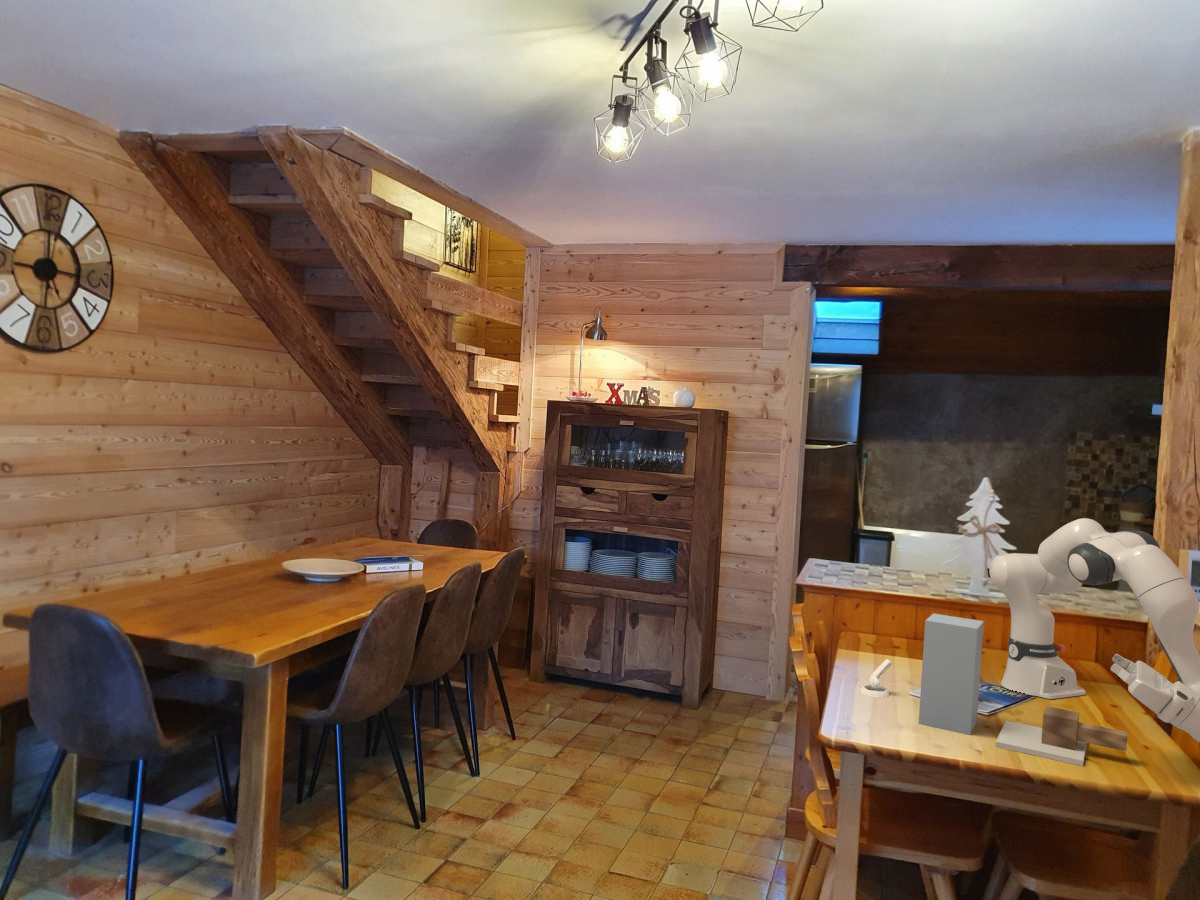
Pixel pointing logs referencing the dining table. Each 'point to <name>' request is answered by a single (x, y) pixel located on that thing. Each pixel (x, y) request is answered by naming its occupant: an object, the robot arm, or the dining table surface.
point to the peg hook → (1077, 731)
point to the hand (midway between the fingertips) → (1113, 661)
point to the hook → (877, 682)
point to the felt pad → (1037, 743)
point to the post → (951, 673)
